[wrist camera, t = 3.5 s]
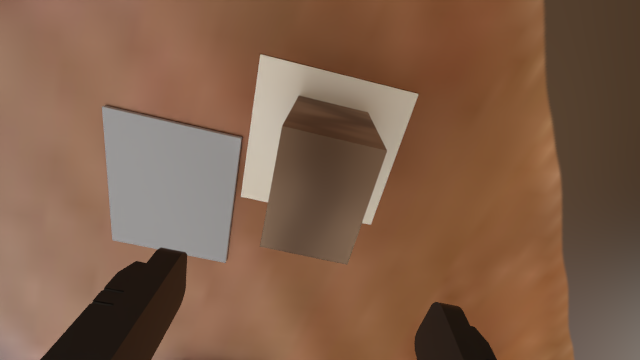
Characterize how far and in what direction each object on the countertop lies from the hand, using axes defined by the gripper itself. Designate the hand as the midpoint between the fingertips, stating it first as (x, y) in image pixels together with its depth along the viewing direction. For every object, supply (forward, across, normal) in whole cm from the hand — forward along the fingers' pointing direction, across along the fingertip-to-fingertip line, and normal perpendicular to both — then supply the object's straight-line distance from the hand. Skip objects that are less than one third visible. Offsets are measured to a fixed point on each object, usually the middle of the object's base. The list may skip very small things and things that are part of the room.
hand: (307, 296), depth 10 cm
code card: (+14, 0, 0) cm, 14 cm away
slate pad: (+14, +11, +7) cm, 19 cm away
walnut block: (+14, 0, 0) cm, 14 cm away
